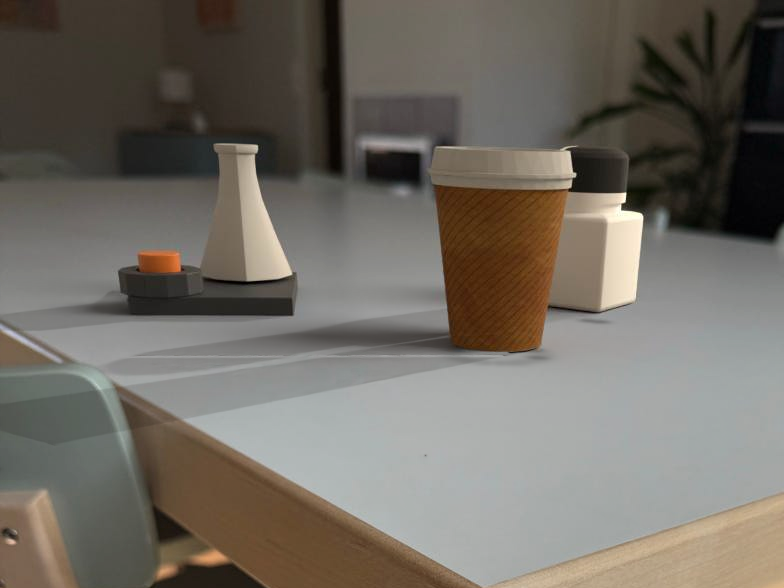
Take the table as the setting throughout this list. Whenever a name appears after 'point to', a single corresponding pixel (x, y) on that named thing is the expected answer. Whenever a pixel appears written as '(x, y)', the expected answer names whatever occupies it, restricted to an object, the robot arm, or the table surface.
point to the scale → (205, 294)
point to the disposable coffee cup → (499, 240)
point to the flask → (241, 224)
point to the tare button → (159, 261)
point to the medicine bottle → (597, 235)
